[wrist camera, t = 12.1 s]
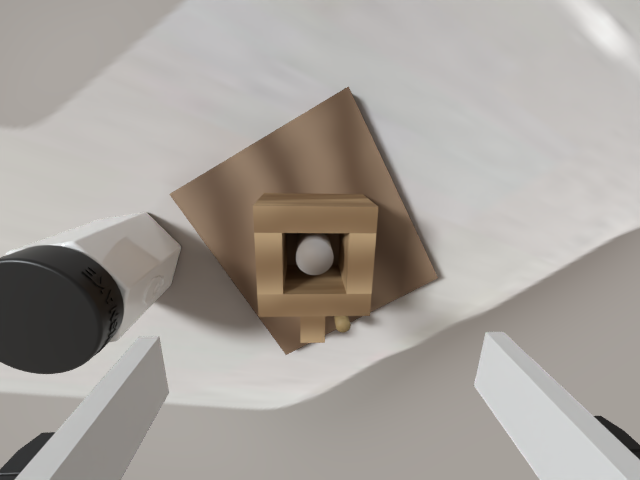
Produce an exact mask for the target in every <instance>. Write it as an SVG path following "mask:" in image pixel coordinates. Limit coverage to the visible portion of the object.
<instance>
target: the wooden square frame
mask: <svg viewBox="0 0 640 480" xmlns="http://www.w3.org/2000/svg"><path fill="white" fill-rule="evenodd" d="M253 219H254V239H255V259H256V279H257V299H258V317H299V316H300V343H323V342H325V316H370V307H371V294H372V282H373V269H374V257H375V245H376V232H377V220H378V206H377V205H376V204H374V203H373V202H372V201H371V200H369V199H368V198H367V197H366V196H365V195H363V194H312V193H263V195H262V196H261V197H260V198H259V199H258V200H257V202H256V203H255V204H254V205H253ZM287 233H340V236H339V260H338V265H331V267H330V268H329V269H328V270H327V271H326V272H325V273H323V274H320V275H309V274H306V273H304V272H303V271H302V270H301V269H300V268H299V267H298V265H287Z"/></svg>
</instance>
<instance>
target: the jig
mask: <svg viewBox="0 0 640 480" xmlns="http://www.w3.org/2000/svg"><path fill="white" fill-rule="evenodd" d="M263 193H312V194H363V195H365V196H366V197H367V198H368V199H369V200H371V201H372V202H373V203H374V204H376V205H377V206H378V220H377V232H376V245H375V257H374V269H373V282H372V294H371V307H370V312H372V311H374V310H376V309H378V308H380V307H382V306H384V305H386V304H388V303H390V302H392V301H394V300H396V299H398V298H400V297H402V296H404V295H406V294H408V293H410V292H411V291H413V290H415V289H417V288H419V287H421V286H423V285H425V284H427V283H429V282H431V281H433V280H435V279H437V278H438V277H437V275H436V272H435V270H434V268H433V266H432V264H431V262H430V260H429V258H428V255H427V253H426V251H425V249H424V247H423V245H422V243H421V240H420V238H419V236H418V234H417V232H416V230H415V228H414V226H413V223H412V221H411V219H410V217H409V215H408V213H407V211H406V208H405V206H404V204H403V202H402V200H401V198H400V196H399V194H398V191H397V189H396V187H395V185H394V183H393V181H392V179H391V176H390V174H389V172H388V170H387V168H386V166H385V164H384V162H383V159H382V157H381V155H380V153H379V151H378V149H377V147H376V144H375V142H374V140H373V138H372V136H371V134H370V132H369V130H368V127H367V125H366V123H365V121H364V119H363V117H362V115H361V112H360V110H359V108H358V106H357V104H356V102H355V100H354V98H353V95H352V93H351V91H350V89H349V87H347V88H345V89H344V90H342V91H340V92H339V93H337V94H335V95H334V96H332V97H330V98H329V99H327V100H325V101H324V102H322V103H320V104H319V105H317V106H315V107H314V108H312V109H310V110H309V111H307V112H305V113H304V114H302V115H300V116H299V117H297V118H295V119H294V120H292V121H290V122H289V123H287V124H285V125H284V126H282V127H280V128H279V129H277V130H275V131H274V132H272V133H270V134H269V135H267V136H265V137H264V138H262V139H260V140H259V141H257V142H255V143H254V144H252V145H250V146H249V147H247V148H245V149H244V150H242V151H240V152H239V153H237V154H236V155H234V156H232V157H231V158H229V159H227V160H226V161H224V162H222V163H221V164H219V165H217V166H216V167H214V168H212V169H211V170H209V171H207V172H206V173H204V174H202V175H201V176H199V177H197V178H196V179H194V180H192V181H191V182H189V183H187V184H186V185H184V186H182V187H181V188H179V189H177V190H176V191H174V192H172V193H171V194H170V196H171V197H172V198H173V200H174V201H175V203H176V204H177V205H178V207H179V208H180V209H181V211H182V212H183V214H184V215H185V216H186V218H187V219H188V220H189V222H190V223H191V225H192V226H193V227H194V229H195V230H196V231H197V233H198V234H199V236H200V237H201V238H202V240H203V241H204V243H205V244H206V245H207V247H208V248H209V249H210V251H211V252H212V254H213V255H214V256H215V258H216V259H217V260H218V262H219V263H220V265H221V266H222V267H223V269H224V270H225V271H226V273H227V274H228V276H229V277H230V278H231V280H232V281H233V282H234V284H235V285H236V287H237V288H238V289H239V291H240V292H241V293H242V295H243V296H244V298H245V299H246V300H247V302H248V303H249V304H250V306H251V307H252V309H253V310H254V311H255V313H256V314H257V315H258V299H257V279H256V259H255V239H254V219H253V205H254V204H255V203H256V202H257V200H258V199H259V198H260V197H261V196H262V195H263ZM339 236H340V233H287V265H298V267H299V268H300V269H301V270H302V271H303V272H304V273H306V274H309V275H320V274H323V273H325V272H326V271H327V270H328V269H329V268H330V267H331V265H338V260H339ZM360 317H362V316H325V335H326V334H328V333H330V332H332V331H334V330H336V329H337V330H338V331H339V332H347V331H348V330H349V329H350V322H352V321H354V320H356V319H358V318H360ZM259 318H260V320H261V321H262V322H263V324H264V325H265V326H266V328H267V329H268V331H269V332H270V333H271V335H272V336H273V338H274V339H275V340H276V342H277V343H278V344H279V346H280V347H281V349H282V350H283V351H284V353H285V354H286V355H287V354H289V353H291V352H293V351H295V350H297V349H299V348H301V347H303V346H305V345H307V344H309V343H300V316H299V317H259Z"/></svg>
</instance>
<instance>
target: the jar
mask: <svg viewBox="0 0 640 480" xmlns="http://www.w3.org/2000/svg"><path fill="white" fill-rule="evenodd" d="M180 250H181V245H180V244H179V243H178V242H176V241H175V240H174V239H173V238H172V237H171V236H170V235H169V234H168V233H167V232H166V231H165V230H164V229H163V228H162V227H161V226H160V225H159V224H158V223H157V222H156V221H155V220H154V219H153V218H152V217H151V216H150V215H149V214H148V213H147V212H140V213H134V214H128V215H121V216H115V217H109V218H102V219H98V220H95V221H92V222H89V223H87V224H84V225H81V226H78V227H75V228H73V229H70V230H67V231H64V232H61V233H58V234H56V235H53V236H50V237H47V238H44V239H41V240H39V241H36V242H33V243H30V244H27V245H25V246H22V247H19V248H16V249H13V250H10V251H8V252H7V253H6V256H3V257H1V258H0V362H2V363H4V364H6V365H8V366H10V367H13V368H16V369H18V370H22V371H26V372H31V373H37V374H55V373H62V372H66V371H70V370H73V369H75V368H77V367H79V366H81V365H83V364H84V363H86V362H87V361H89V360H90V359H91V358H92V357H93V356H94V355H96V354H97V353H99V352H100V351H101V350H102V349H103V348H104V347H105V346H106V344H107V343H108V342H114V341H117V340H119V338H120V337H121V336H122V335H123V334H124V333H125V332H126V331H127V330H128V329H129V328H130V327H131V326H132V325H133V324H134V323H135V322H136V321H137V320H138V319H139V318H140V317H141V316H142V315H143V314H144V312H145V311H146V310H147V309H148V308H149V307H150V306H151V305H152V304H153V303H154V302H155V301H156V300H157V299H158V298H159V297H160V296H161V295H162V294H163V293H164V292H165V291H166V290H167V289H168V288H169V287H170V285H171V283H172V280H173V276H174V272H175V269H176V265H177V261H178V258H179V254H180Z"/></svg>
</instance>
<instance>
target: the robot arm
mask: <svg viewBox="0 0 640 480" xmlns="http://www.w3.org/2000/svg"><path fill="white" fill-rule="evenodd" d="M474 386H475V388H476V389H477V391H478V392H479V393H480V395H481V396H482V398H483V399H484V401H485V402H486V403H487V405H488V406H489V408H490V409H491V411H492V412H493V414H494V415H495V416H496V418H497V419H498V421H499V422H500V424H501V425H502V426H503V428H504V429H505V431H506V432H507V434H508V435H509V436H510V438H511V439H512V441H513V442H514V443H515V445H516V446H517V448H518V449H519V451H520V452H521V454H522V455H523V456H524V458H525V459H526V461H527V462H528V464H529V465H530V466H531V468H532V469H533V471H534V472H535V474H536V475H537V476H538V478H539V479H540V480H640V445H639V444H638V443H637V442H636V441H635V440H634V439H632V438H631V437H630V436H629V435H628V434H627V433H626V432H625V431H623V430H622V429H620V428H619V427H617V426H616V425H614V424H612V423H611V422H609V421H608V420H606V419H605V418H603V417H602V416H593V415H591V414H590V413H589V412H588V411H587V410H586V409H585V408H584V407H583V406H582V405H581V404H580V403H579V402H577V400H575V398H573V397H572V396H571V395H570V394H569V393H568V392H567V391H566V390H565V389H564V388H563V387H562V386H561V385H560V384H559V383H558V382H557V381H555V380H554V379H553V378H552V377H551V376H550V375H549V374H548V373H547V372H546V371H544V369H543V368H542V367H541V366H539V365H538V364H537V363H536V362H535V361H534V360H533V359H532V358H531V357H530V356H529V355H528V354H527V353H526V352H525V351H523V350H522V349H521V348H520V347H519V346H518V345H517V344H516V343H515V342H514V341H513V340H512V339H511V338H510V337H509V336H508V335H507V334H506V333H504V332H486V333H485V338H484V342H483V347H482V351H481V356H480V361H479V365H478V370H477V374H476V379H475V383H474ZM168 393H169V390H168V384H167V378H166V372H165V367H164V361H163V355H162V350H161V344H160V338H159V336H155V337H138V338H137V340H136V341H135V342H134V343H133V344H132V345H131V346H130V348H129V349H128V350H127V351H126V352H125V353H124V355H123V356H122V357H121V358H120V359H119V360H118V361H117V363H116V364H115V365H114V366H113V367H112V368H111V369H110V371H109V372H108V373H107V374H106V375H105V376H104V377H103V379H102V380H101V381H100V382H99V383H98V384H97V385H96V387H95V388H94V389H93V390H92V391H91V392H90V393H89V395H88V396H87V397H86V398H85V399H84V400H83V402H82V403H81V404H80V405H79V406H78V408H76V410H75V411H74V412H73V413H72V414H71V415H70V416H69V418H68V419H67V420H66V421H65V422H64V423H63V425H62V426H61V427H60V428H59V429H58V430H57V431H56V432H52V433H41V434H40V435H39V436H37V437H36V438H35V439H33V440H32V441H30V442H29V443H28V444H26V445H25V446H24V447H22V448H21V449H20V450H18V451H17V452H16V453H15V454H14V456H13V457H12V458H11V459H10V460H9V461H8V462H7V463H6V464H5V465H4V466H3V467H2V468H1V469H0V480H121V478H122V476H123V475H124V473H125V471H126V469H127V467H128V466H129V464H130V462H131V460H132V459H133V457H134V455H135V453H136V451H137V449H138V448H139V446H140V444H141V442H142V440H143V439H144V437H145V435H146V433H147V431H148V430H149V428H150V426H151V424H152V422H153V421H154V419H155V417H156V415H157V413H158V411H159V410H160V408H161V406H162V404H163V403H164V401H165V399H166V397H167V395H168Z"/></svg>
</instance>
